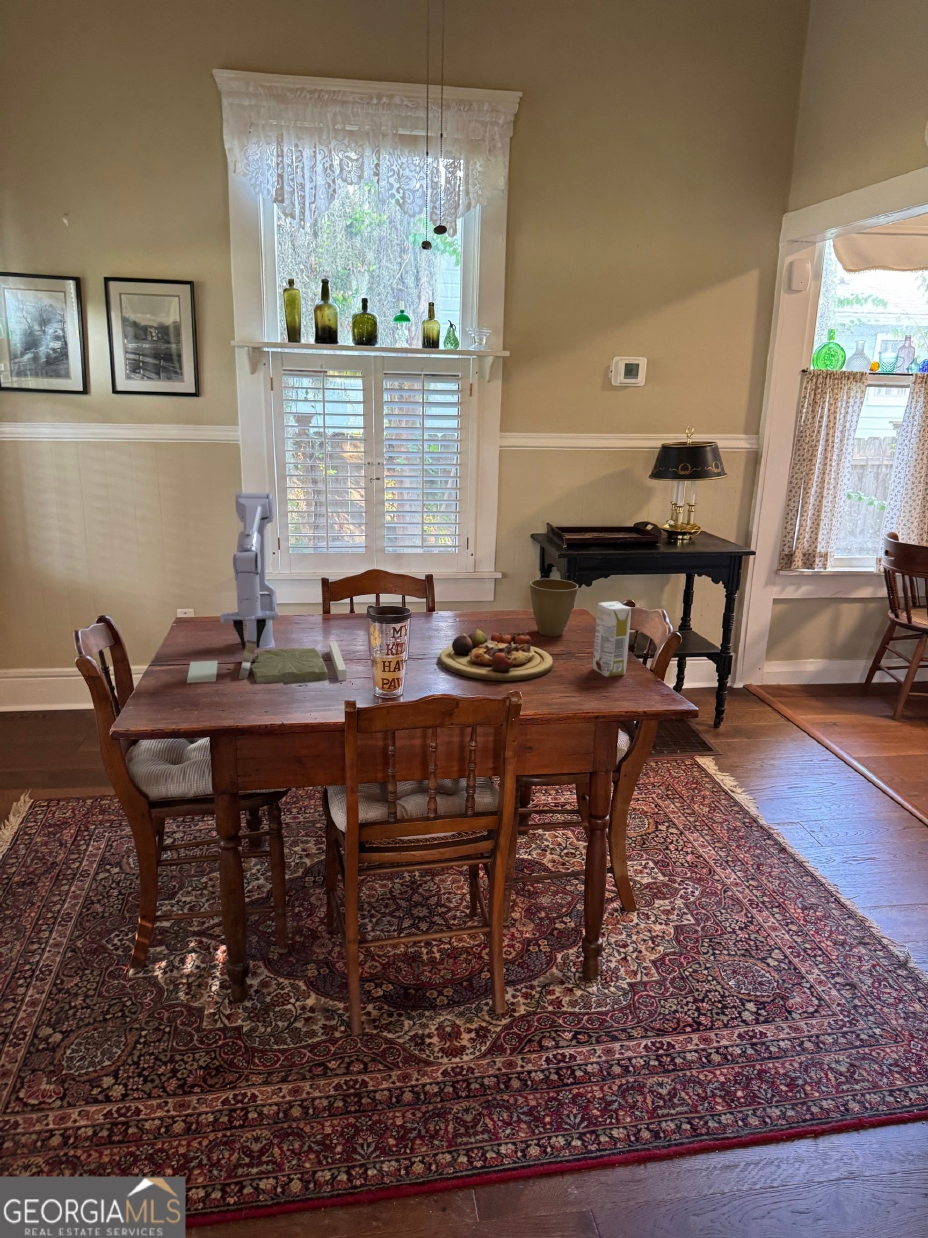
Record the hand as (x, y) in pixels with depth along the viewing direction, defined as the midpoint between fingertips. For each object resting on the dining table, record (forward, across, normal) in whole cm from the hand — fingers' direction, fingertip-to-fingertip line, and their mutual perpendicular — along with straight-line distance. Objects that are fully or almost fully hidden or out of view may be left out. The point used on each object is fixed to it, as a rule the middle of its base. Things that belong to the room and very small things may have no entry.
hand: (250, 647), depth 214 cm
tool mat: (+6, -12, 0) cm, 14 cm away
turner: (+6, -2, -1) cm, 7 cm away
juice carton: (+7, +94, -18) cm, 97 cm away
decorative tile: (+7, +9, -1) cm, 12 cm away
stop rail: (+6, +23, 0) cm, 23 cm away
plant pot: (+7, +92, +18) cm, 94 cm away
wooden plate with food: (+7, +66, -6) cm, 67 cm away
